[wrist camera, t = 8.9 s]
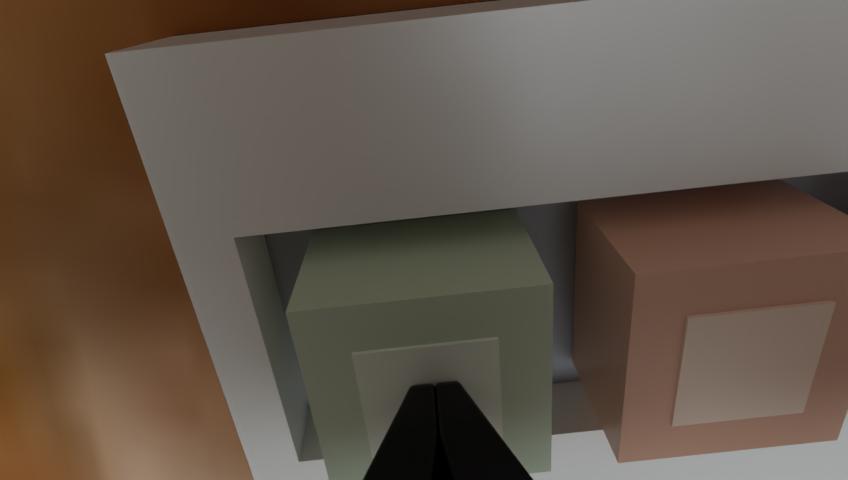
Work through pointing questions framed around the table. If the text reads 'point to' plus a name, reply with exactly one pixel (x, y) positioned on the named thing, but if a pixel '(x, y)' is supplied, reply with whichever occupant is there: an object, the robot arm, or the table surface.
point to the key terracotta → (712, 319)
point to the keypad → (472, 166)
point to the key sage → (424, 330)
